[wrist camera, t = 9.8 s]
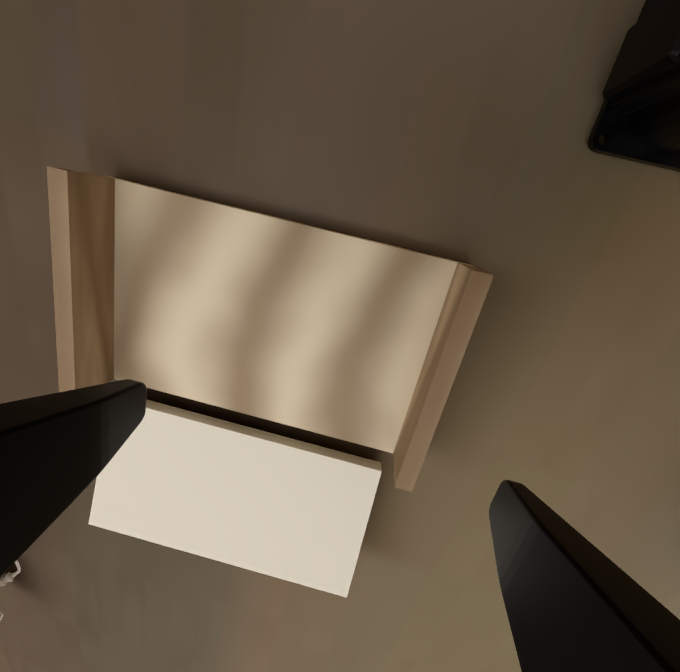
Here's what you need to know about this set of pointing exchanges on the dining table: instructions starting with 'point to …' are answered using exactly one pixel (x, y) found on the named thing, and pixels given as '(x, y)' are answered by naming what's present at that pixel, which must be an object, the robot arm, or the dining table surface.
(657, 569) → the dining table surface
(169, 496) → the panel
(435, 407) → the tray
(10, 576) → the rocket engine
